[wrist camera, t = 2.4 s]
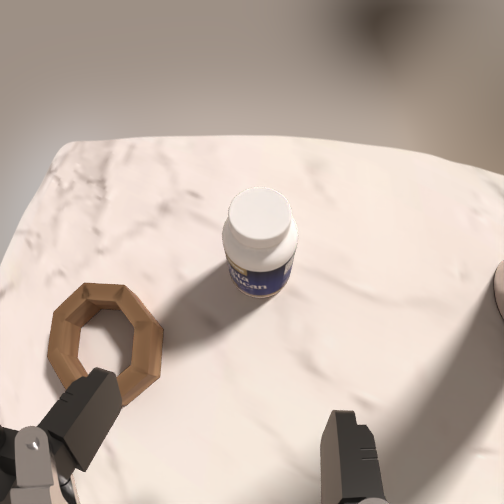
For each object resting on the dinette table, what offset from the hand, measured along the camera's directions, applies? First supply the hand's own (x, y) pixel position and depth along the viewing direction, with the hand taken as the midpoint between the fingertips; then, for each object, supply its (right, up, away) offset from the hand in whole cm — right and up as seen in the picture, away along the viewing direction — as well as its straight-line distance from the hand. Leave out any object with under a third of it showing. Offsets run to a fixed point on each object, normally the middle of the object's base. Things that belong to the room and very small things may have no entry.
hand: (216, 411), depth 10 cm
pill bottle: (+2, +4, +18) cm, 19 cm away
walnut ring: (-12, -3, +15) cm, 19 cm away
